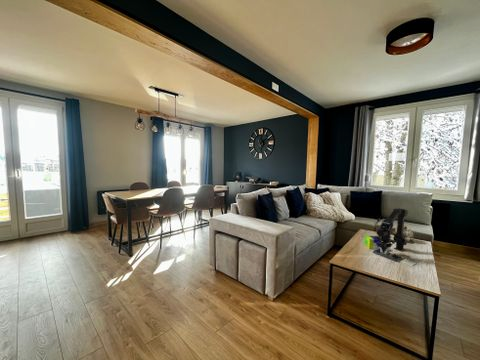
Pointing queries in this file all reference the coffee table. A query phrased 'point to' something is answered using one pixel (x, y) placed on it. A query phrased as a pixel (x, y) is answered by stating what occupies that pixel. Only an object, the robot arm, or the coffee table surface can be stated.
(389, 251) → the brushed metal block
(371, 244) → the puzzle toy
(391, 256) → the slotted plate
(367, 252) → the coffee table surface
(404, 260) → the mat
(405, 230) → the owl figurine
